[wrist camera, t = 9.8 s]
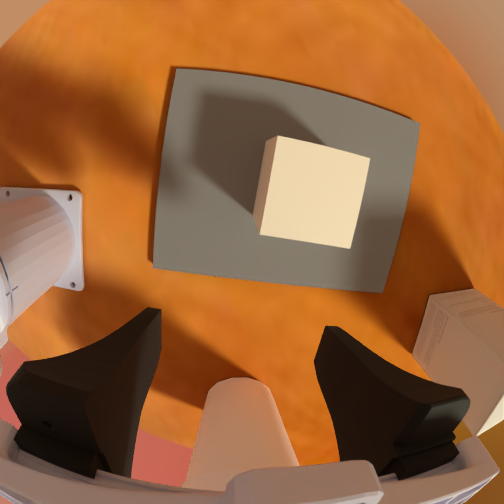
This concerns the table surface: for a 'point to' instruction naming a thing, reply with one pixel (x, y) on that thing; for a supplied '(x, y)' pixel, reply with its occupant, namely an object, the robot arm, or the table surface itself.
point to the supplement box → (466, 352)
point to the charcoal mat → (248, 172)
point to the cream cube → (309, 192)
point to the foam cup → (237, 435)
